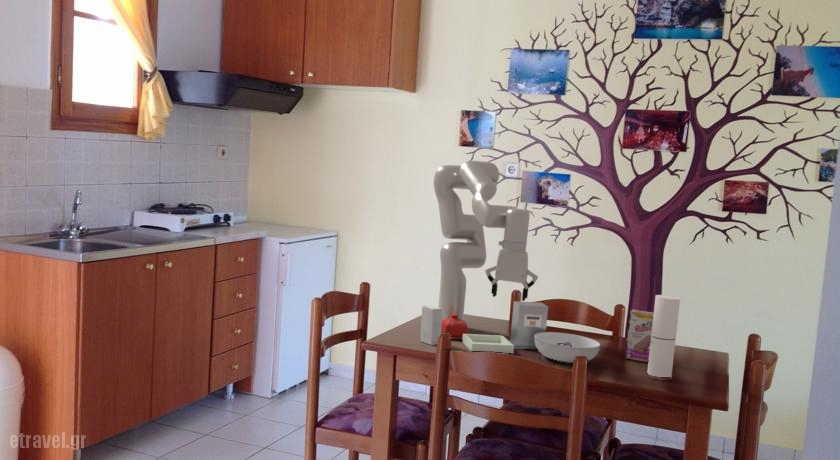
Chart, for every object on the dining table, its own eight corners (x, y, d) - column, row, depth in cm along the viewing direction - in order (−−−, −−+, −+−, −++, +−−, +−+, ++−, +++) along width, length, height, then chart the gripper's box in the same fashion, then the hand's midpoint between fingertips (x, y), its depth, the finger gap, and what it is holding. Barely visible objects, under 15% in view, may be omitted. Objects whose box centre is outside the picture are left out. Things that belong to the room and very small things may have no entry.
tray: (462, 341, 260) (462, 333, 260) (501, 343, 263) (502, 335, 262) (471, 351, 247) (472, 343, 246) (513, 353, 249) (513, 345, 249)
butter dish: (473, 342, 262) (475, 317, 262) (441, 341, 260) (443, 316, 259) (464, 334, 273) (466, 311, 273) (433, 333, 271) (435, 309, 270)
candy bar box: (624, 359, 254) (629, 311, 252) (625, 356, 258) (630, 308, 257) (659, 365, 250) (664, 316, 249) (659, 361, 255) (665, 313, 254)
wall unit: (506, 342, 264) (510, 300, 263) (539, 344, 266) (543, 302, 265) (513, 349, 256) (517, 305, 254) (547, 350, 258) (552, 307, 256)
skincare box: (440, 344, 254) (444, 308, 253) (430, 345, 251) (433, 309, 250) (429, 340, 258) (432, 305, 257) (418, 341, 255) (421, 305, 254)
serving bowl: (594, 372, 234) (597, 350, 233) (527, 361, 240) (529, 340, 239) (601, 358, 253) (603, 338, 253) (538, 348, 260) (540, 328, 259)
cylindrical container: (657, 381, 229) (666, 299, 227) (641, 374, 236) (650, 294, 234) (676, 380, 232) (685, 299, 230) (660, 373, 239) (668, 295, 237)
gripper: (486, 244, 247) (480, 296, 249) (539, 251, 243) (533, 303, 245) (490, 242, 255) (485, 292, 256) (542, 248, 250) (536, 300, 252)
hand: (508, 298), depth 250 cm, fingers open, 9 cm apart
